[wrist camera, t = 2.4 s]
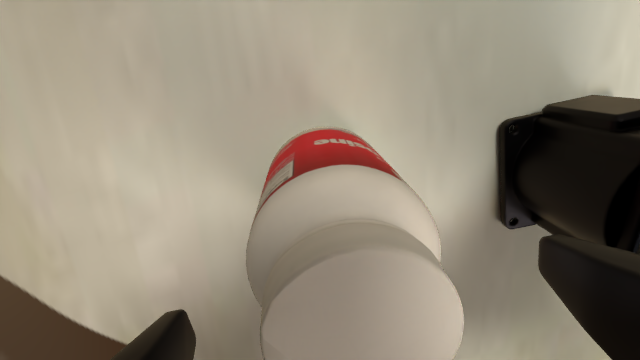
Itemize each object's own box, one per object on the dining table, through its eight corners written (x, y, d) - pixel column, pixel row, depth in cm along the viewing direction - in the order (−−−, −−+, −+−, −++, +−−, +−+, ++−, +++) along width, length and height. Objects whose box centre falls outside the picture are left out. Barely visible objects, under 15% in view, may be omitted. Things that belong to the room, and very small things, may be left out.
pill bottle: (402, 168, 18) (554, 309, 7) (334, 248, 19) (380, 464, 9) (312, 99, 16) (340, 153, 6) (245, 191, 18) (170, 371, 7)
